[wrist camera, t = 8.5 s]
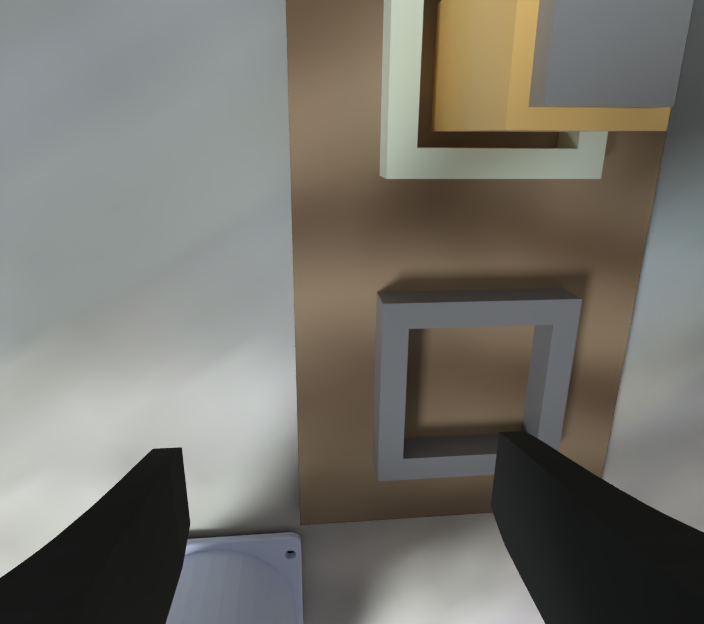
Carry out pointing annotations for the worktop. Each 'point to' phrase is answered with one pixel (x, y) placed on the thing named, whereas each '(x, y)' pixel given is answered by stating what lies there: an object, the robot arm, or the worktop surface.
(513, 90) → the plug
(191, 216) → the worktop surface
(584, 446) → the switch board
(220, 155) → the worktop surface
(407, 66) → the pale green square frame
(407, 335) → the grey square frame
